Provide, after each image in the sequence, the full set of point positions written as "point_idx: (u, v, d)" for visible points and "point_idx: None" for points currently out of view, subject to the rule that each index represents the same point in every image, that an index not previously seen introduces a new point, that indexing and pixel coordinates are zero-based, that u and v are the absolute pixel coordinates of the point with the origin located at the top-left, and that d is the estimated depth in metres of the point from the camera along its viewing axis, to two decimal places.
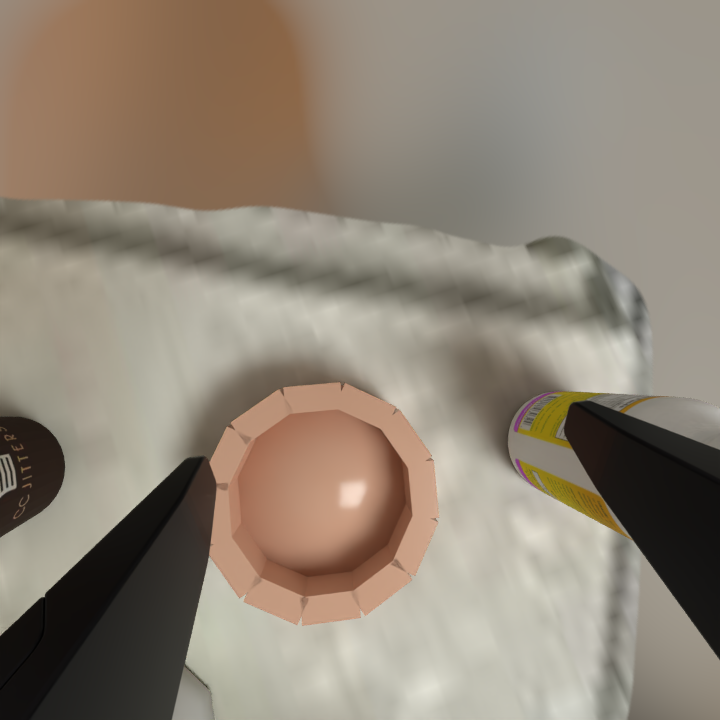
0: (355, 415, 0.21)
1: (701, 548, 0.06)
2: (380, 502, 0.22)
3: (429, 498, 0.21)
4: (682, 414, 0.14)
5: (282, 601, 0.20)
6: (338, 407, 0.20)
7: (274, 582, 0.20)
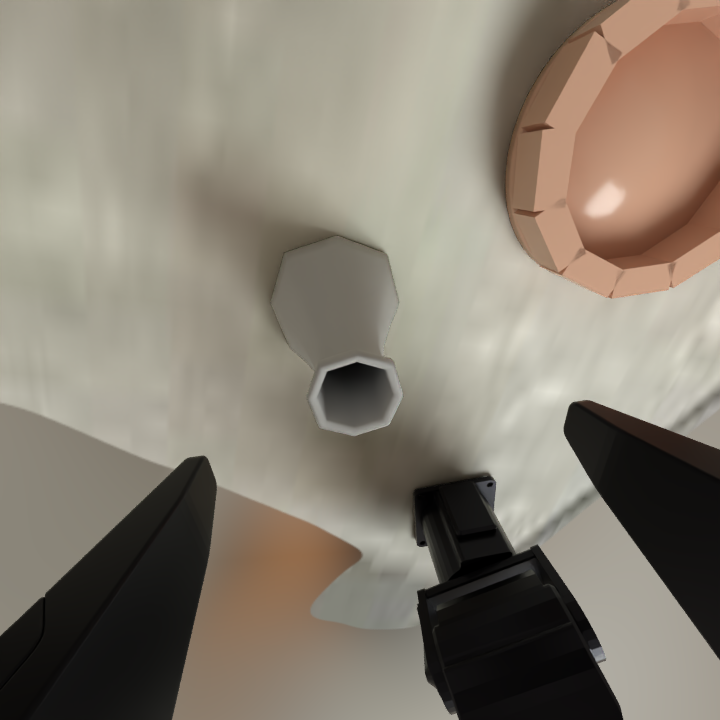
0: None
1: (701, 548, 0.06)
2: (671, 207, 0.19)
3: None
4: None
5: (565, 241, 0.18)
6: None
7: (570, 216, 0.17)
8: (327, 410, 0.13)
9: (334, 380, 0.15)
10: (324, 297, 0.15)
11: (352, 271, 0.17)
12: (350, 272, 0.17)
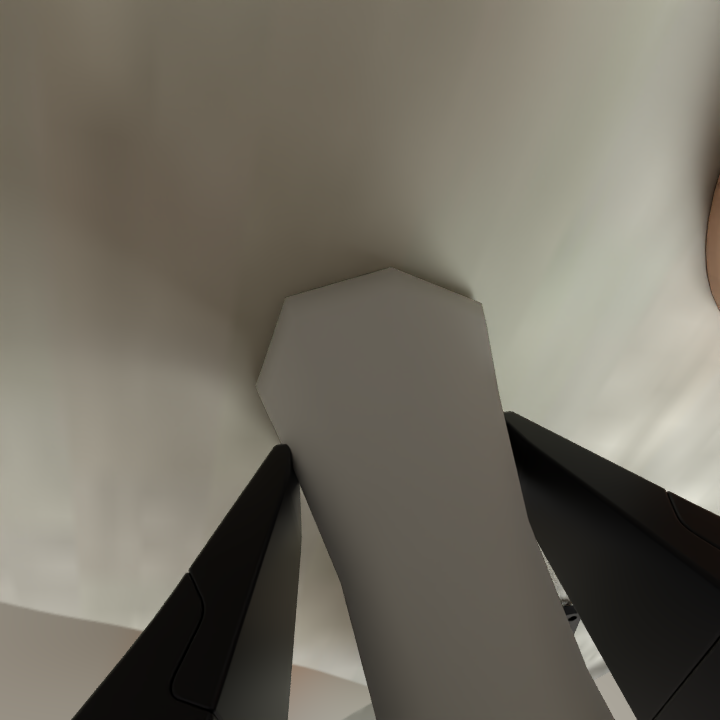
0: None
1: (596, 567, 0.06)
2: None
3: None
4: None
5: None
6: None
7: None
8: None
9: None
10: (387, 443, 0.06)
11: (435, 355, 0.08)
12: (432, 358, 0.08)
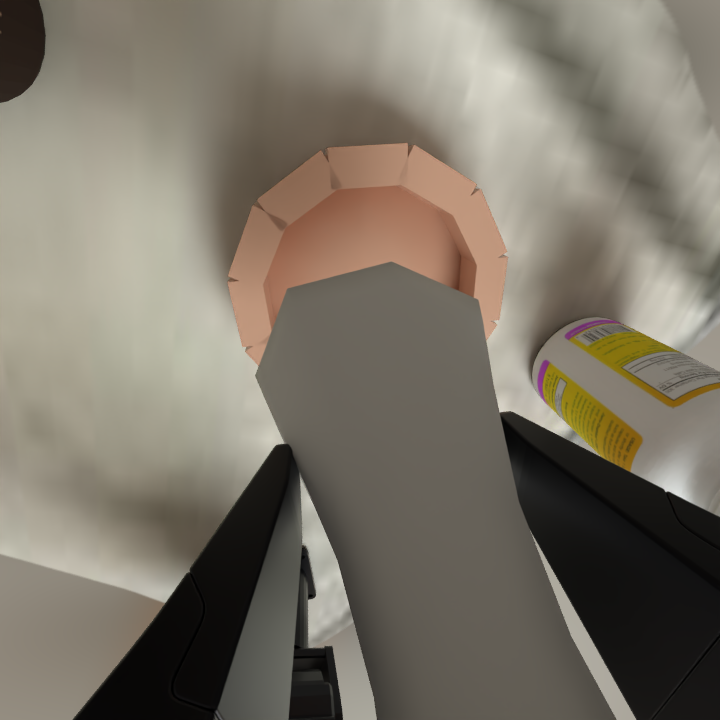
0: (464, 234, 0.17)
1: (595, 568, 0.06)
2: None
3: None
4: None
5: None
6: (455, 213, 0.16)
7: None
8: None
9: None
10: (385, 427, 0.06)
11: (432, 346, 0.08)
12: (430, 349, 0.08)
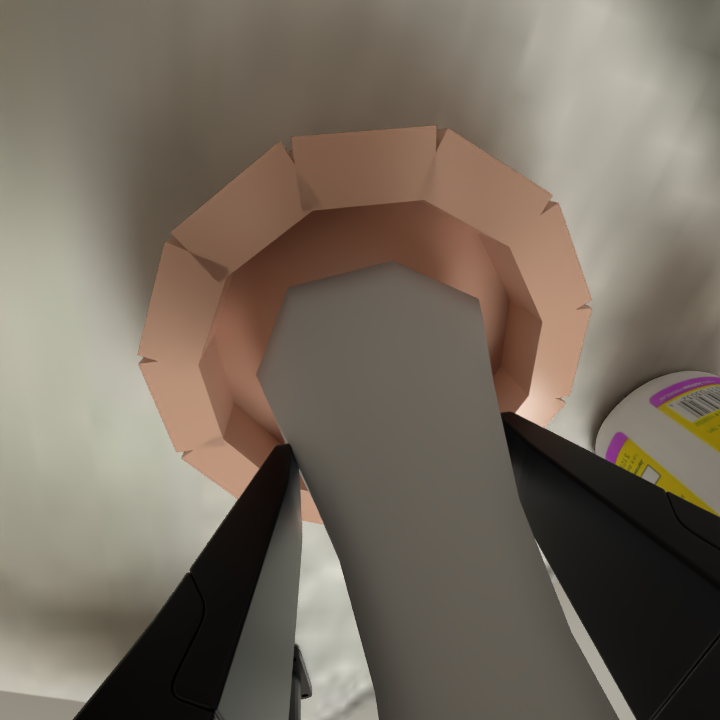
0: (525, 276, 0.10)
1: (595, 567, 0.06)
2: None
3: None
4: None
5: (244, 478, 0.12)
6: (513, 244, 0.10)
7: (242, 452, 0.12)
8: None
9: None
10: (386, 425, 0.06)
11: (433, 345, 0.08)
12: (430, 348, 0.08)
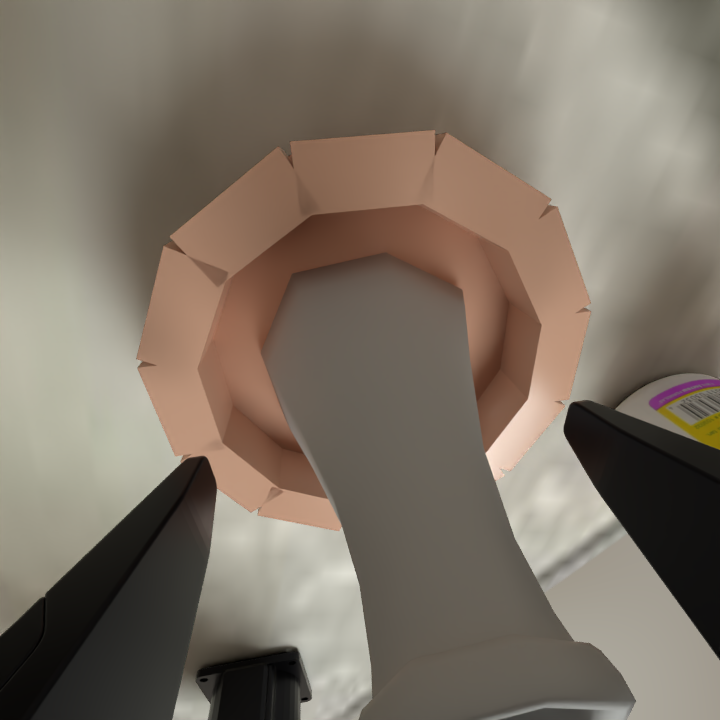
0: (524, 279, 0.10)
1: (701, 548, 0.06)
2: None
3: (519, 447, 0.13)
4: None
5: (243, 482, 0.12)
6: (512, 247, 0.10)
7: (241, 456, 0.12)
8: None
9: None
10: (375, 386, 0.08)
11: (418, 324, 0.09)
12: (415, 327, 0.09)
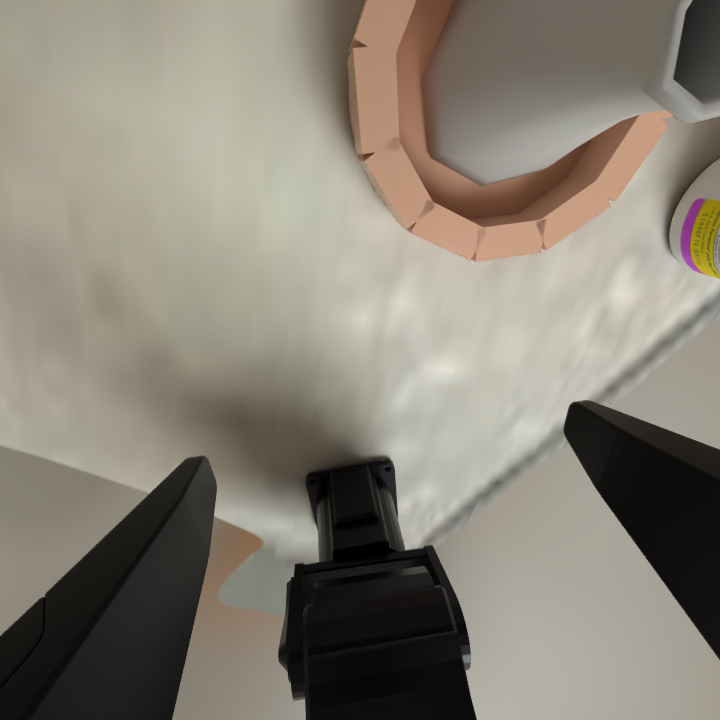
0: None
1: (701, 548, 0.06)
2: None
3: (626, 171, 0.16)
4: None
5: (407, 191, 0.15)
6: None
7: (409, 161, 0.15)
8: None
9: (579, 116, 0.10)
10: None
11: None
12: None
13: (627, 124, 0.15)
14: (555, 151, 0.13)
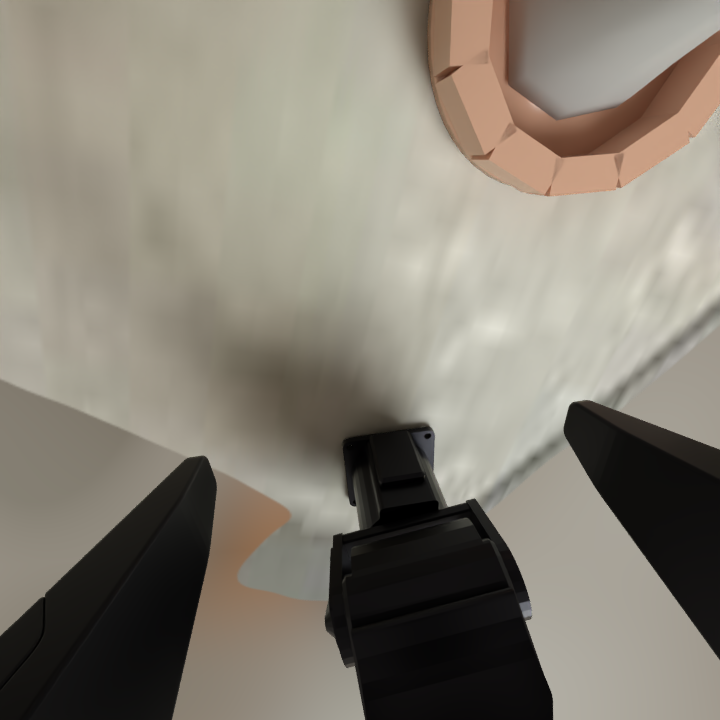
0: None
1: (701, 548, 0.06)
2: None
3: (709, 104, 0.16)
4: None
5: (490, 112, 0.15)
6: None
7: (496, 78, 0.14)
8: None
9: None
10: None
11: None
12: None
13: (714, 53, 0.15)
14: (654, 64, 0.13)
